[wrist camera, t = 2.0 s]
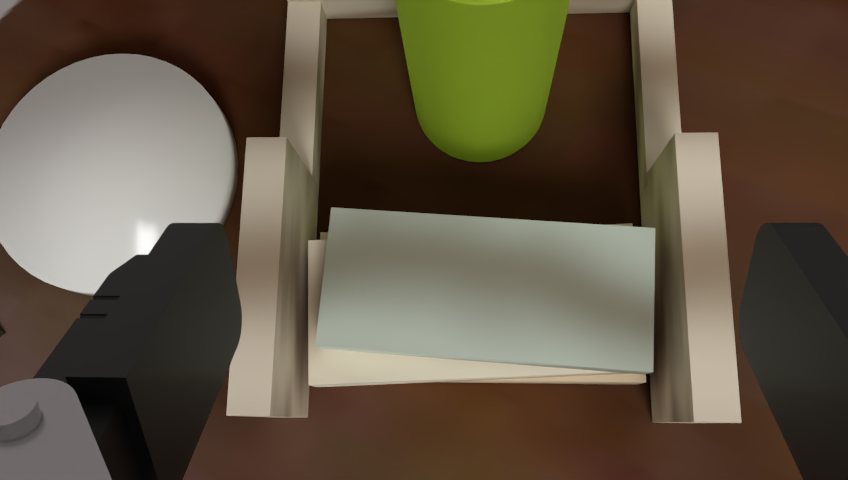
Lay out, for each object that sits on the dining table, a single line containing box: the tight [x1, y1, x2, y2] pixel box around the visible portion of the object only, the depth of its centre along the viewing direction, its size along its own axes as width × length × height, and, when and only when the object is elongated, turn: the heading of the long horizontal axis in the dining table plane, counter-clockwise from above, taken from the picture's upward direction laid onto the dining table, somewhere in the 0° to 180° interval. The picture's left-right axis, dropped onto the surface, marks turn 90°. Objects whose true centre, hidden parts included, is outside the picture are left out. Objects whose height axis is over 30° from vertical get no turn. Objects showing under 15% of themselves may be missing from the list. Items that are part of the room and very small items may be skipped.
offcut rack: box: [226, 0, 741, 423], centre depth 30 cm, size 20×17×6 cm
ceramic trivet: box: [0, 54, 239, 296], centre depth 34 cm, size 11×11×1 cm
